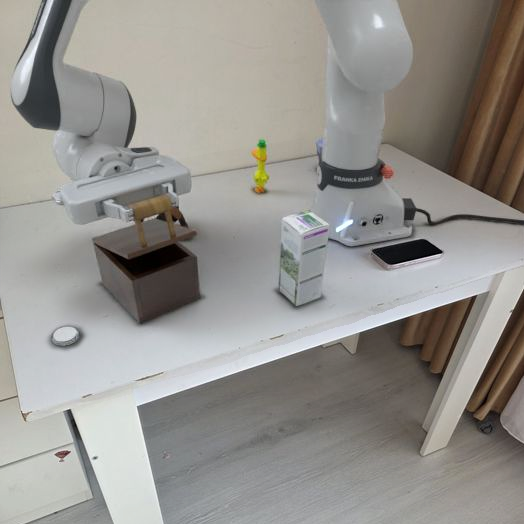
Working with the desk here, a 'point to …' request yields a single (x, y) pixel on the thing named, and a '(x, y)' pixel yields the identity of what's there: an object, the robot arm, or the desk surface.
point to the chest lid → (145, 230)
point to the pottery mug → (173, 217)
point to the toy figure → (260, 166)
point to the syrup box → (302, 257)
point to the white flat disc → (65, 335)
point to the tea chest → (151, 279)
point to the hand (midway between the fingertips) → (153, 209)
